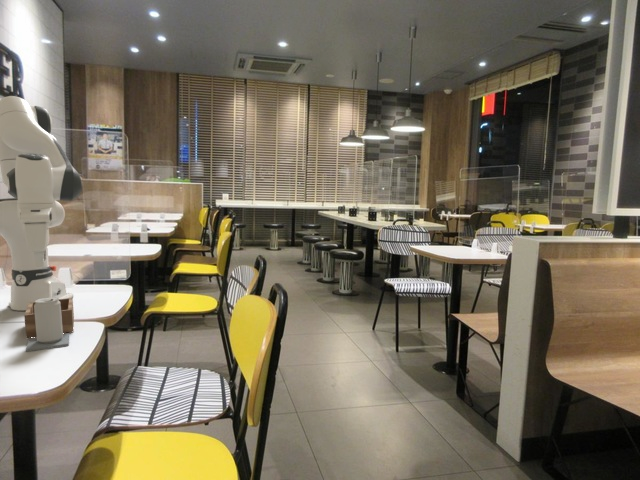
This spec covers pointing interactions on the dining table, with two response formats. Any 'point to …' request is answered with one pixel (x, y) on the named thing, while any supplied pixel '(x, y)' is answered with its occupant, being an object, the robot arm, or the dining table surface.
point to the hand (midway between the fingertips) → (41, 263)
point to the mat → (37, 345)
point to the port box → (66, 315)
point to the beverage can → (48, 320)
